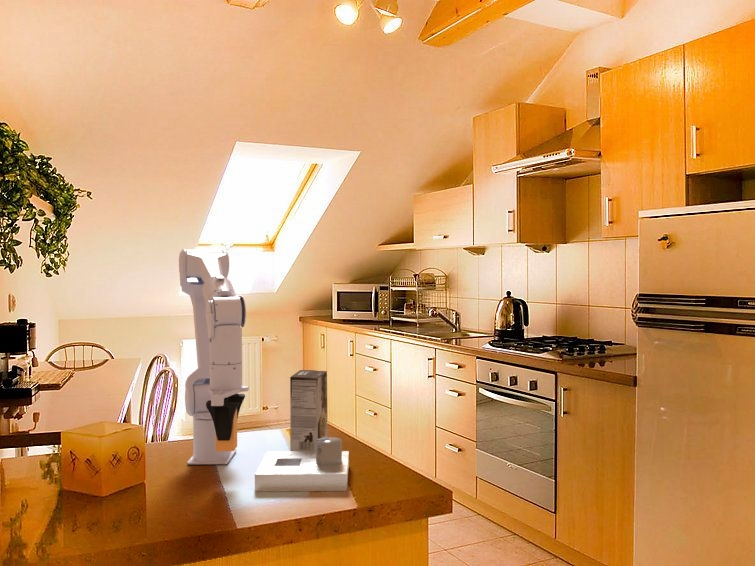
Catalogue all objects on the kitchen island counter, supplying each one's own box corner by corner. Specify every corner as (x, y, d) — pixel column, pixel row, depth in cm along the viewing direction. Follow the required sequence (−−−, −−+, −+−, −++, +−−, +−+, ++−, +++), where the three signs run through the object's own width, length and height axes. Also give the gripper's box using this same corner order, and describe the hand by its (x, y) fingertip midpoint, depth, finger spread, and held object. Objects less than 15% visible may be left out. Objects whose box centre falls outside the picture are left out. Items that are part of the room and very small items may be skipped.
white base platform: (267, 466, 126) (267, 431, 126) (348, 466, 127) (348, 430, 127) (254, 491, 112) (254, 451, 112) (346, 490, 113) (346, 451, 113)
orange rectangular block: (219, 446, 119) (219, 408, 119) (237, 446, 119) (237, 408, 119) (215, 451, 116) (215, 412, 115) (233, 451, 116) (233, 412, 116)
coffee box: (300, 440, 146) (300, 369, 145) (328, 441, 145) (328, 370, 144) (289, 452, 136) (288, 376, 136) (318, 453, 136) (318, 376, 135)
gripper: (240, 369, 110) (240, 448, 110) (255, 357, 124) (255, 427, 125) (198, 369, 110) (199, 448, 110) (218, 357, 124) (218, 427, 124)
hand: (226, 437), depth 117 cm, fingers closed on orange rectangular block, 3 cm apart
